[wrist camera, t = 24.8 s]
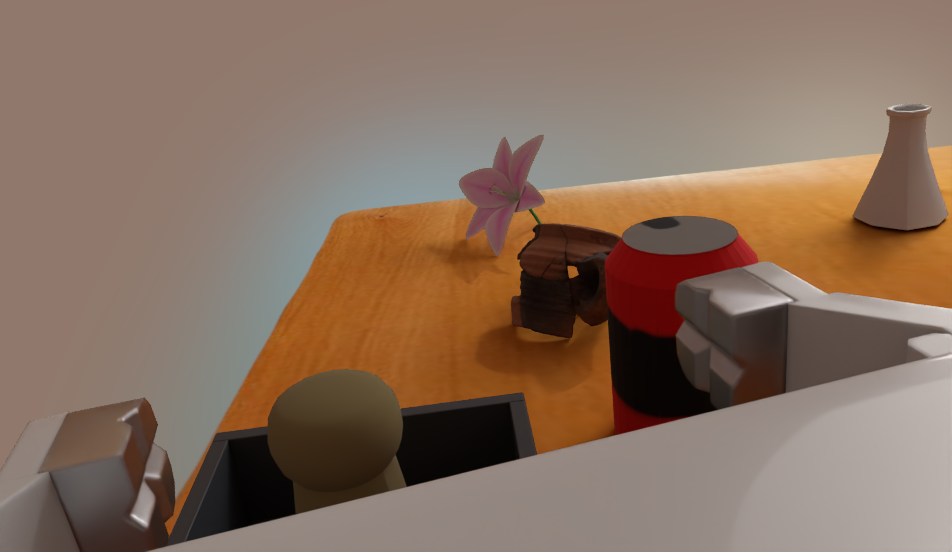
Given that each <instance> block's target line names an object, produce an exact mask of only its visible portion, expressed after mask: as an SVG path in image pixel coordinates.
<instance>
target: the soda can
mask: <svg viewBox="0 0 952 552" xmlns="http://www.w3.org/2000/svg"><path fill="white" fill-rule="evenodd" d="M756 263H758V258H757V255H756V254H755V252H754V251H753V250H752V249H751V248H750V246H749V245H748V244H747V243H746V242H745V241H744V240H743V238H742V237H741V236H740V235H739V234H738V231H737V229H736V228H735V227H734V226H732V225H731V224H729V223H727V222H724V221H721V220H717V219H713V218H707V217H698V216H673V217H663V218H657V219H652V220H647V221H644V222H641V223H638V224H635V225H633V226H631V227H629V228H628V229H627V230H625V232H624V233H623V235H622V238H621V239H620V241H619V242H618V243H617V245H616V246H615V247H614V249H613V250H612V251H611V253H610V254H609V255H608V257H607V258H606V260H605V279H606V295H607V311H608V328H609V344H610V361H611V377H612V394H613V410H614V427H615V434H616V435H619V434H623V433H627V432H631V431H635V430H639V429H643V428H647V427H652V426H656V425H660V424H664V423H668V422H672V421H676V420H680V419H684V418H688V417H692V416H696V415H700V414H704V413H708V412H712V411H716V410H717V409H716V408H715V407H714V406H713V405H712V404H711V403H710V393H709V392H706V391H703V390H699V389H696V388H695V387H694V386H693V385H692V384H691V383H690V382H689V381H688V379H687V378H686V376H685V374H684V373H683V371H682V368H681V365H680V362H679V358H678V355H677V344H676V334H677V332H678V330H679V329H680V327H681V325H682V324H683V322H684V319H683V318H682V317H681V316H680V315H679V313H678V312H677V311H676V310H675V292H676V287H677V284H679V283H680V282H682V281H684V280H688V279H692V278H696V277H700V276H704V275H709V274H713V273H717V272H721V271H725V270H729V269H733V268H737V267H740V268H742V267H745V266H749V265H753V264H756Z"/></svg>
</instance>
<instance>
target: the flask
mask: <svg viewBox="0 0 952 552" xmlns="http://www.w3.org/2000/svg"><path fill="white" fill-rule="evenodd" d="M886 112H887V115H888V116H890V124H889V133H888V137H887V141H886V144H885V147H884V151H883V154H882V156H881V158H880V160H879V163H878V165H877V167H876V169H875V171H874V173H873V176H872V178H871V180H870V182H869V184H868V186H867V188H866V190H865V192H864V194H863V196H862V198H861V200H860V202H859V204H858V206H857V208H856V210H855V212H854V214H853V217H855V218H857V219H859V220H861V221H863V222H865V223H867V224H870V225H872V226H879V227H886V228H894V229H901V230H911V229H917V228H923V227H929V226H935V225H938V224H939V223H941V222H942V221H943V220H944V219H945V218H946V217H947V216H948V212H947V209H946V206H945V203H944V200H943V197H942V194H941V191H940V189H939V186H938V183H937V180H936V177H935V173H934V170H933V167H932V164H931V160H930V157H929V154H928V149H927V141H926V132H925V129H926V118H927V115H928V114H929V113H930V112H931V107H930V106H926V105H921V104H902V105H896V106H891V107H890V108H888V109H887V111H886Z"/></svg>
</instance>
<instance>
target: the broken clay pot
mask: <svg viewBox="0 0 952 552" xmlns="http://www.w3.org/2000/svg"><path fill="white" fill-rule="evenodd" d="M533 232H535V237H534V239H532V240H531V241H529V242H528V243H527V245H526V246H525V247H523V249H522V250H521V252H520V253H519V254H518V257H517V259H518V260H520V259H521V260H520V266H521V268H522V269H523V271H521V277H520V281H521V285H520V289H521V295H520V296H513V297H512V300H511V311H512V324H513V325H516V326H519V327H524V328H528V329H531V330H533V331H535V332H539V333H543V334H549V335H554V336H558V337H565V338H571V337H572V334H573V324H574V323H575V317H576V314H578V315H579V316H580V318H581V319H582V320H583V321H584V322H585V323H587V324H589V325H590V326H595V325H598V324H601V323H603V322H605V321H607V320H608V311H607V295H606V279H605V260H606V258H607V257H608V255H609V254H610V253H611V251H612V250H613V249H614V247H615V246H616V245H617V243H618V242H619V241H620V239H621V238H622V237H619V236H618V235H615V234H613V233H609V232H605V231H602V230H599V229H593V228H588V227H582V226H576V225H569V224H563V225H562V224H554V223H552V224H538V225H536V227H534V229H533ZM568 266H575V267H577V271H578V274H579V275H578V276H576V277H574V278H571V279H570V278H569V276H568V269H567V267H568Z"/></svg>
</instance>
